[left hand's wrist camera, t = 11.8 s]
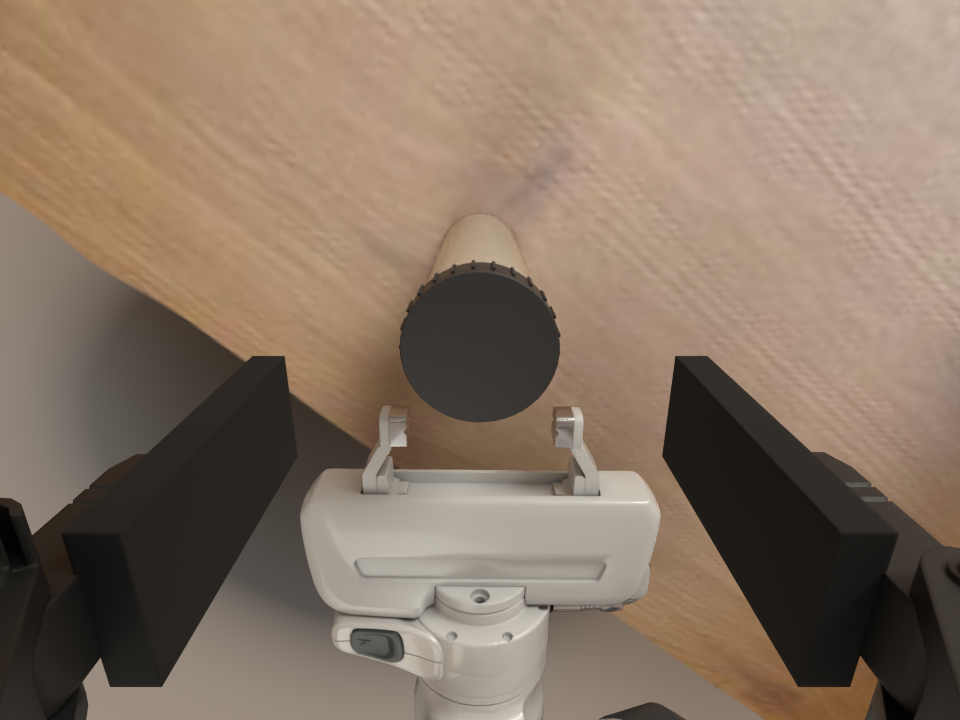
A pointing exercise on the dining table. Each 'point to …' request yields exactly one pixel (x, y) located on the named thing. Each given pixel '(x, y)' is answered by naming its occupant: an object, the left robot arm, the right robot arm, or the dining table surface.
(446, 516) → the right robot arm
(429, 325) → the lid
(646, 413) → the dining table surface
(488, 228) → the beige bottle
